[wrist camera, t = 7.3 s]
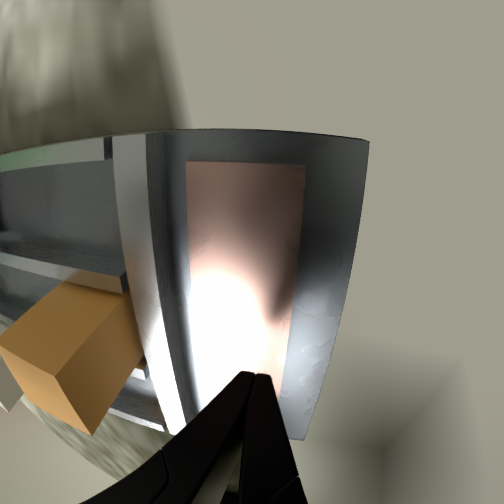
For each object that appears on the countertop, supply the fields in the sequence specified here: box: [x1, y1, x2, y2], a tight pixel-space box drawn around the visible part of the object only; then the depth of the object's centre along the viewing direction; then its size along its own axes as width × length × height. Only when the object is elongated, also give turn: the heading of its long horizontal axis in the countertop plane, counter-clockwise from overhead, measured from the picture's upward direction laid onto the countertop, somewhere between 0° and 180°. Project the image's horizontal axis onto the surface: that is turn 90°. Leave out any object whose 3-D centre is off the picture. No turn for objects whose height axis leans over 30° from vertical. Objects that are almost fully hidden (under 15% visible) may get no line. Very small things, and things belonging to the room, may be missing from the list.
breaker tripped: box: [0, 281, 145, 436], centre depth 8 cm, size 3×3×4 cm
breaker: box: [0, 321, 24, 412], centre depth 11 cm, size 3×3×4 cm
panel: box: [0, 129, 370, 440], centre depth 11 cm, size 13×24×2 cm, turn 88°
